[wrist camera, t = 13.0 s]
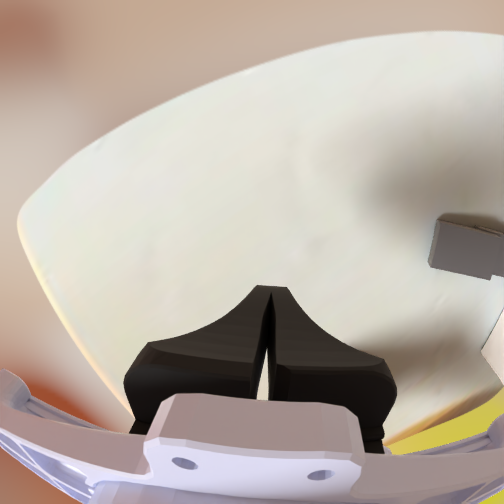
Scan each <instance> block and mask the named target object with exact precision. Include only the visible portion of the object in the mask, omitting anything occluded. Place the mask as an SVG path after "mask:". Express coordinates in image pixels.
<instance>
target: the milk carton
mask: <svg viewBox="0 0 504 504" xmlns="http://www.w3.org/2000/svg"><path fill="white" fill-rule="evenodd" d="M481 354H482V355H483V357H484V358H485V359H486V361H487V362H488V363H489V365H490V366H491V368H492V369H493V370H494V372H495V373H496V374H497V376H498V377H499V379H500V380H501V381H502V383H503V384H504V309H503V311H502V313H501V315H500V317H499V319H498V321H497V323H496V325H495V327H494V329H493V331H492V333H491V335H490V336H489V338H488V340H487V342H486V343H485V345H484V347H483V349H482V350H481Z"/></svg>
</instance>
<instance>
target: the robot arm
mask: <svg viewBox="0 0 504 504" xmlns="http://www.w3.org/2000/svg"><path fill="white" fill-rule="evenodd" d="M266 350H267V355H268V383H269V393H268V401H267V400H256V399H257V392H258V386H259V382H260V377H261V373H262V368H263V364H264V359H265V355H266ZM123 384H124V389H125V393H126V396H127V399H128V401H129V404H130V406H131V409H132V412H133V414H134V417H135V419H136V420H135V422H134V424H133V426H132V428H131V430H130V432H129V434H128V433H119V432H112V431H109V430H106V429H104V428H101V427H98V426H96V425H93V424H90V423H88V422H86V421H83V420H81V419H79V418H76V417H74V416H72V415H69V414H67V413H65V412H63V411H61V410H59V409H57V408H55V407H52V406H50V405H48V404H46V403H45V402H43V401H41V400H39V399H37V398H35V397H33V396H31V393H30V391H29V389H28V387H27V386H26V384H25V383H24V381H22V379H21V378H19V377H18V376H16V375H14V374H13V373H11V372H9V371H8V370H6V369H2V370H1V371H0V446H1V447H2V448H3V449H4V450H5V451H7V452H8V453H9V454H10V455H12V456H13V457H14V458H15V459H17V460H18V461H19V462H21V463H22V464H23V465H25V466H26V467H27V468H29V469H30V470H31V471H33V472H34V473H36V474H37V475H38V476H40V477H42V478H43V479H44V480H46V481H47V482H49V483H50V484H52V485H53V486H55V487H56V488H58V489H60V490H61V491H63V492H64V493H66V494H68V495H69V496H71V497H73V498H74V499H76V500H78V501H80V502H81V503H83V504H478V503H480V502H482V501H484V500H485V499H487V498H489V497H491V496H493V495H495V494H496V493H498V492H500V491H501V490H503V489H504V414H502V415H500V416H499V417H497V418H496V419H495V420H494V421H493V423H492V424H491V425H490V427H489V428H488V430H487V431H486V432H483V433H480V434H478V435H475V436H472V437H469V438H466V439H463V440H460V441H456V442H453V443H449V444H446V445H442V446H439V447H435V448H431V449H427V450H423V451H418V452H413V453H409V454H403V455H392V453H391V451H390V449H389V448H387V447H385V446H383V444H382V440H381V439H383V438H384V435H385V433H384V429H383V423H384V421H385V420H386V418H387V416H388V414H389V412H390V410H391V409H392V407H393V405H394V403H395V400H396V397H397V387H396V384H395V382H394V379H393V377H392V374H391V372H390V370H389V368H388V366H387V364H386V363H385V361H384V359H382V358H379V357H376V356H373V355H370V354H367V353H364V352H361V351H359V350H357V349H355V348H353V347H350V346H348V345H346V344H345V343H343V342H341V341H339V340H338V339H336V338H334V337H333V336H331V335H330V334H328V333H327V332H326V331H324V330H323V329H322V328H321V327H319V326H318V325H317V324H316V323H315V322H314V321H312V320H311V319H310V317H309V316H308V315H307V314H306V313H305V312H304V311H303V309H302V308H301V307H300V306H299V304H298V303H297V302H296V300H295V299H294V297H293V296H292V294H291V292H290V291H289V289H288V288H287V287H277V286H262V285H257V286H255V287H254V288H253V290H252V291H251V292H250V293H249V294H248V295H247V296H246V298H245V299H243V300H242V301H241V302H240V303H239V304H238V305H237V306H236V307H235V308H234V309H232V310H231V311H230V312H229V313H228V314H226V315H225V316H223V317H222V318H220V319H218V320H217V321H215V322H213V323H211V324H209V325H207V326H205V327H203V328H200V329H198V330H196V331H193V332H190V333H188V334H185V335H181V336H178V337H174V338H170V339H164V340H159V341H153V342H148V343H147V344H146V346H145V347H144V348H143V349H142V350H141V352H140V353H139V354H138V356H137V357H136V359H135V360H134V362H133V364H132V365H131V367H130V368H129V370H128V371H127V373H126V375H125V377H124V382H123Z"/></svg>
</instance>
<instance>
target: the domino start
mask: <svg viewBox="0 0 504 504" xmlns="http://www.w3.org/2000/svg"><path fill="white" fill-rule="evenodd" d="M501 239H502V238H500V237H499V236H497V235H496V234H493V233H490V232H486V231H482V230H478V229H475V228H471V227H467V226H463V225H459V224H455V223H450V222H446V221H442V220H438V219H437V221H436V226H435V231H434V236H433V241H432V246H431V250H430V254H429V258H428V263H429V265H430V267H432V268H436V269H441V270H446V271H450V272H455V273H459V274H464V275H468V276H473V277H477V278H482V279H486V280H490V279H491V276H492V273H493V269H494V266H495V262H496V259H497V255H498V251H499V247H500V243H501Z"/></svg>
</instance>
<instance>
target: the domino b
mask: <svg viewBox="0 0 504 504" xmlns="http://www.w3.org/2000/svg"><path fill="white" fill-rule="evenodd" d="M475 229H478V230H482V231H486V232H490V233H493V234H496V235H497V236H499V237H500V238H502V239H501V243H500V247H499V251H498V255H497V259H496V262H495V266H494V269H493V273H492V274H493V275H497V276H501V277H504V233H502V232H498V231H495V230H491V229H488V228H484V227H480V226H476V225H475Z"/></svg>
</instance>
